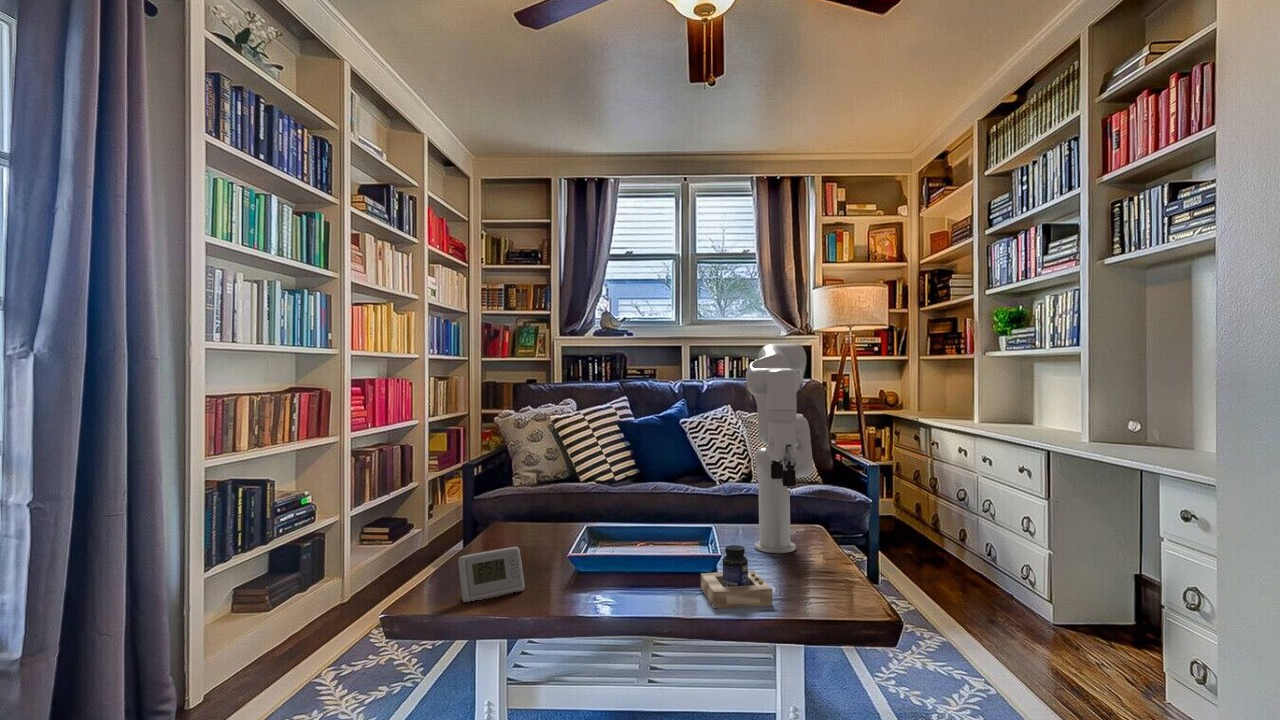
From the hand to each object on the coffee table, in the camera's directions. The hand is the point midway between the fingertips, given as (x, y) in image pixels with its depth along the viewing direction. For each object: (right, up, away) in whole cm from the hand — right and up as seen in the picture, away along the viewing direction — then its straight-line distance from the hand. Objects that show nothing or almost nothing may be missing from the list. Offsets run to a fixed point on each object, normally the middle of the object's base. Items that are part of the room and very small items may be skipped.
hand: (783, 482), depth 162 cm
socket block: (-14, -26, -11) cm, 31 cm away
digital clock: (-74, -27, -8) cm, 79 cm away
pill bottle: (-14, -25, -11) cm, 31 cm away
